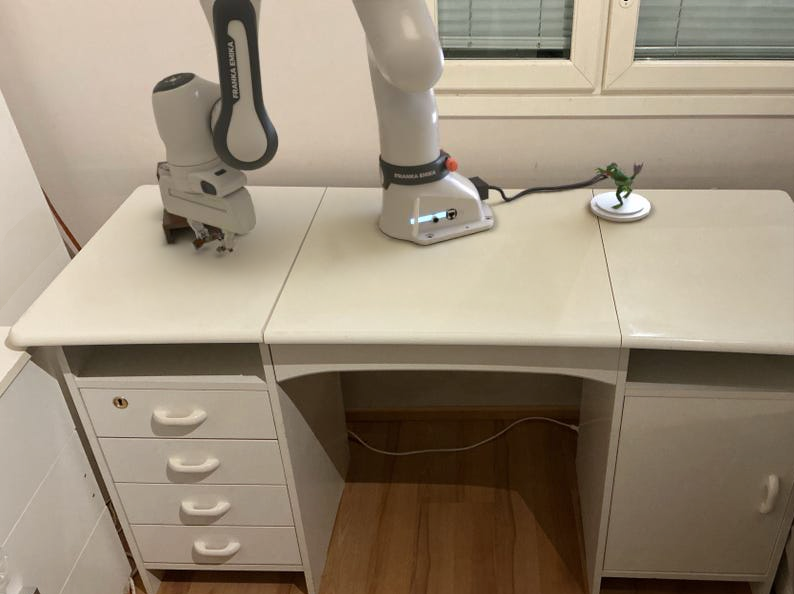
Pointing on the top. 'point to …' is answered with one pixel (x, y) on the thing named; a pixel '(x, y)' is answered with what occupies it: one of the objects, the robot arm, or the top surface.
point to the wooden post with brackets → (218, 235)
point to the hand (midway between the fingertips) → (216, 242)
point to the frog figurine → (620, 198)
